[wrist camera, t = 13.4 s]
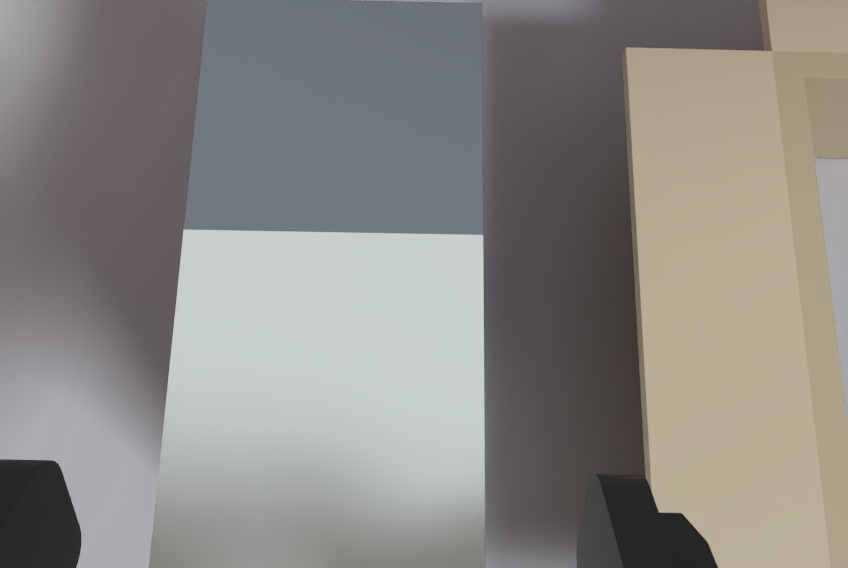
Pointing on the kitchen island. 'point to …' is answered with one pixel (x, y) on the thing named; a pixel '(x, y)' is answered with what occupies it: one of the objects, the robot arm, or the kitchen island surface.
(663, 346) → the carton
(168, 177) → the kitchen island surface
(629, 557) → the robot arm
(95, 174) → the kitchen island surface
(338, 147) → the box
